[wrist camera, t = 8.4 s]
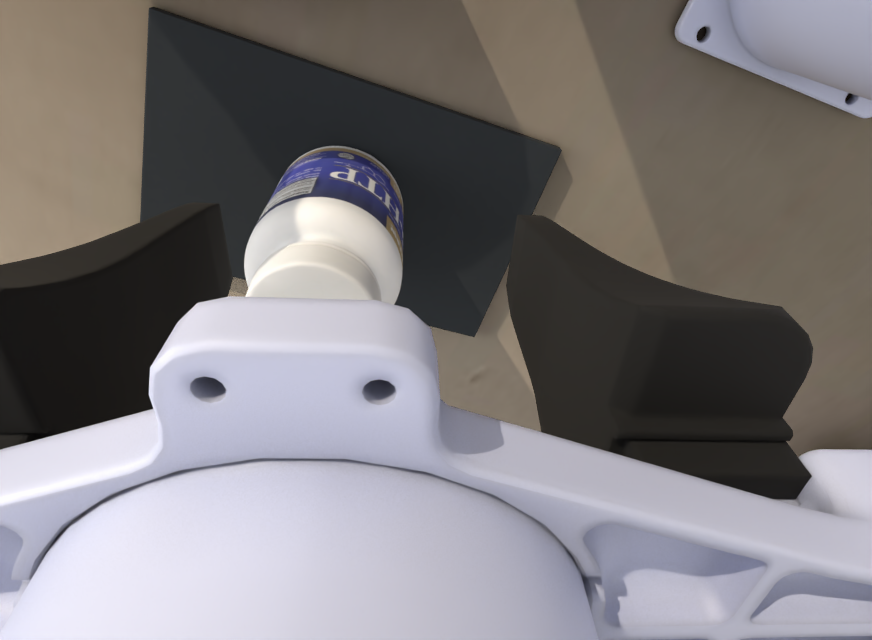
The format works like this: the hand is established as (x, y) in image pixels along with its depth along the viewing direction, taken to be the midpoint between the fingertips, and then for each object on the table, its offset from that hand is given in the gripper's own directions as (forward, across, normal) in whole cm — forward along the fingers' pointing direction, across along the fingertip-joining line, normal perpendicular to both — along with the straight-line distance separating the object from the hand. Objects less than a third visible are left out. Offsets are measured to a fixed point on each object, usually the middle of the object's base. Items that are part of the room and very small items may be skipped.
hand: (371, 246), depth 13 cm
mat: (+10, +2, +3) cm, 11 cm away
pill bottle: (+10, +2, +3) cm, 11 cm away
